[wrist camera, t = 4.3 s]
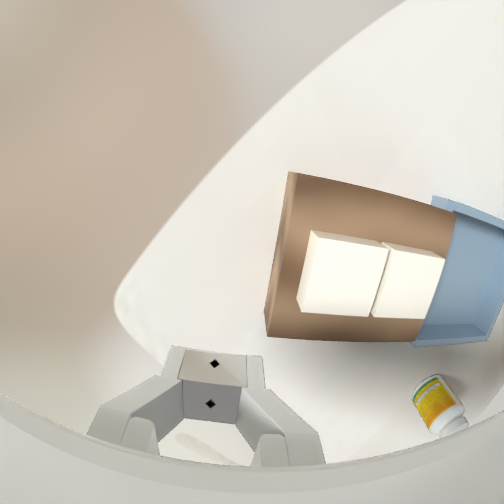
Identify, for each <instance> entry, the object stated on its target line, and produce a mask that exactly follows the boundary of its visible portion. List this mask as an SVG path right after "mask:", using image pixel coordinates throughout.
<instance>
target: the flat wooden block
mask: <svg viewBox="0 0 504 504" xmlns="http://www.w3.org/2000/svg"><path fill="white" fill-rule="evenodd" d="M456 217H457V214H456V213H453V212H450V211H447V210H444V209H441V208H438V207H435V206H432V205H428V204H425V203H422V202H418V201H415V200H411V199H408V198H404V197H401V196H397V195H393V194H390V193H386V192H382V191H378V190H374V189H370V188H366V187H362V186H358V185H353V184H349V183H345V182H340V181H335V180H331V179H326V178H321V177H316V176H311V175H306V174H300V173H294V172H288V177H287V184H286V190H285V196H284V202H283V208H282V214H281V220H280V225H279V231H278V237H277V243H276V248H275V254H274V260H273V265H272V271H271V276H270V282H269V287H268V292H267V298H266V303H265V308H264V315H265V323H266V331H267V337H278V338H290V339H305V340H322V341H348V342H412V341H415V340H416V338H417V336H418V334H419V331H420V329H421V327H422V324H423V322H424V320H425V319H410V318H382V317H374V316H373V315H372V314H371V312H370V313H369V316H368V317H362V316H346V315H332V314H319V313H307V312H301V310H300V307H299V304H298V302H297V299H296V297H297V293H298V288H299V284H300V280H301V275H302V271H303V266H304V261H305V257H306V252H307V247H308V242H309V237H310V232H311V230H315V231H321V232H327V233H334V234H340V235H346V236H352V237H357V238H363V239H369V240H375V241H377V242H379V243H381V244H382V242H386V243H391V244H397V245H402V246H407V247H413V248H418V249H423V250H428V251H432V252H434V253H436V254H437V255H439V256H441V257H443V258H444V259H445V260H446V257H447V253H448V250H449V246H450V242H451V238H452V234H453V230H454V226H455V222H456ZM444 264H445V263H444ZM443 267H444V266H443ZM442 270H443V269H442ZM441 273H442V272H441ZM436 288H437V287H436ZM435 291H436V290H435ZM434 294H435V293H434ZM431 302H432V301H431ZM429 307H430V306H429ZM428 310H429V309H428ZM426 315H427V314H426Z"/></svg>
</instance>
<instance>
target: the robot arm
mask: <svg viewBox="0 0 504 504" xmlns="http://www.w3.org/2000/svg"><path fill="white" fill-rule="evenodd" d="M183 418H187V419H195V420H204V421H212V422H220V423H228V424H236V427H237V428H238V430H239V431H240V433H241V434H242V435H243V437H244V438H245V440H246V441H247V442H248V444H249V445H250V447H251V448H252V450H253V451H254V452H255V454H254V457H253V460H252V464H251V466H250V467H249V466H231V465H219V464H209V463H201V462H193V461H187V460H181V459H175V458H170V457H164V456H160V453H159V448H158V442H159V441H160V440H161V439H162V438H164V437H165V436H166V435H167V434H168V433H169V432H170V431H171V430H172V429H174V428H175V427H176V426H177V425H178V424H179V423H180V422H181V421H182V420H183ZM0 504H504V410H503V411H502V412H500V413H498V414H496V415H494V416H492V417H490V418H488V419H486V420H484V421H482V422H480V423H477V424H475V425H473V426H471V427H468V428H466V429H464V430H461V431H459V432H456V433H454V434H451V435H448V436H446V437H443V438H440V439H437V440H434V441H431V442H428V443H425V444H422V445H418V446H415V447H412V448H408V449H404V450H400V451H397V452H392V453H388V454H384V455H379V456H374V457H369V458H364V459H358V460H352V461H345V462H338V463H330V464H326V462H325V458H324V454H323V450H322V446H321V442H320V439H319V435H318V432H317V431H315V430H314V429H313V428H312V427H311V426H310V425H309V424H307V423H306V422H305V421H304V420H303V419H302V418H301V417H300V416H298V415H297V414H296V413H295V412H294V411H293V410H292V409H291V408H290V407H289V406H287V405H286V404H285V403H284V402H283V401H282V400H281V399H280V398H279V397H278V396H277V395H276V394H275V393H274V392H273V391H272V390H271V389H266V387H265V377H264V368H263V359H262V357H261V356H253V355H235V354H226V353H217V352H211V351H205V350H198V349H192V348H186V347H180V346H174V345H172V346H171V347H170V349H169V352H168V354H167V357H166V360H165V362H164V365H163V368H162V371H161V374H160V376H157V375H155V376H153V377H151V378H149V379H148V380H146V381H144V382H142V383H141V384H139V385H137V386H135V387H134V388H132V389H130V390H128V391H127V392H125V393H123V394H121V395H119V396H117V397H116V398H114V399H112V400H110V401H108V402H107V403H105V404H103V405H101V406H100V408H99V410H98V412H97V414H96V416H95V418H94V420H93V422H92V424H91V426H90V428H89V430H88V432H87V434H84V433H81V432H79V431H76V430H74V429H71V428H69V427H66V426H64V425H62V424H59V423H57V422H55V421H52V420H51V419H48V418H46V417H44V416H42V415H40V414H38V413H36V412H34V411H32V410H30V409H28V408H26V407H24V406H23V405H21V404H19V403H17V402H16V401H14V400H12V399H11V398H9V397H7V396H5V395H4V394H2V393H1V392H0Z"/></svg>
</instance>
